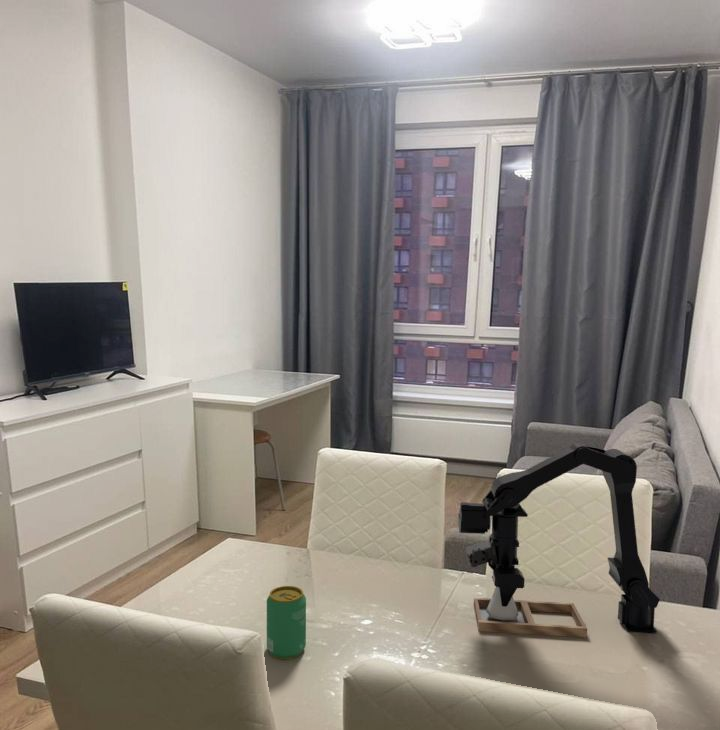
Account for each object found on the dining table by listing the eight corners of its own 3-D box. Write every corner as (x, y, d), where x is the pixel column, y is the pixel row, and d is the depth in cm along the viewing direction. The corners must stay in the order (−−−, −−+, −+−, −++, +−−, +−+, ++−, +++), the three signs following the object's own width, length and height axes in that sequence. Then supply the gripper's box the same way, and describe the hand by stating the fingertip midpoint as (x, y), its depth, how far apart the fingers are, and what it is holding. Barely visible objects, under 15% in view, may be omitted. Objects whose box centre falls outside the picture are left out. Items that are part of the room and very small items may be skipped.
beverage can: (282, 635, 128) (283, 581, 127) (313, 646, 124) (313, 590, 123) (258, 653, 121) (258, 596, 121) (290, 665, 117) (290, 606, 116)
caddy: (573, 611, 140) (573, 603, 140) (586, 637, 129) (587, 628, 129) (473, 605, 143) (473, 597, 143) (478, 630, 131) (478, 622, 131)
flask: (519, 623, 132) (520, 579, 131) (486, 619, 133) (487, 576, 133) (517, 608, 139) (519, 566, 138) (486, 604, 140) (487, 563, 140)
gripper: (465, 518, 145) (463, 581, 146) (472, 548, 126) (470, 619, 128) (512, 520, 144) (510, 583, 145) (525, 550, 125) (523, 622, 126)
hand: (502, 600), depth 136 cm, fingers closed on flask, 5 cm apart
